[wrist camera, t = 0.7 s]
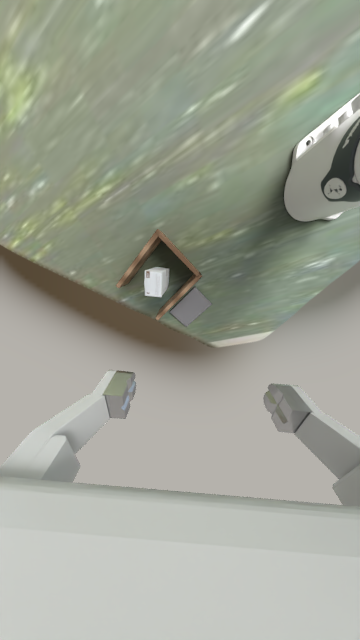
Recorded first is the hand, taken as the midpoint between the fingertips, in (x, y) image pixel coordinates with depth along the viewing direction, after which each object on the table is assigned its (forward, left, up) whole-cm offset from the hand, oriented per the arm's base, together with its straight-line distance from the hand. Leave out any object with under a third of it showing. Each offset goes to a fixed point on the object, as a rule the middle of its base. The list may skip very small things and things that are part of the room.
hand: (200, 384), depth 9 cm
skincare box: (+6, -7, -39) cm, 40 cm away
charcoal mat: (+7, +7, -39) cm, 40 cm away
